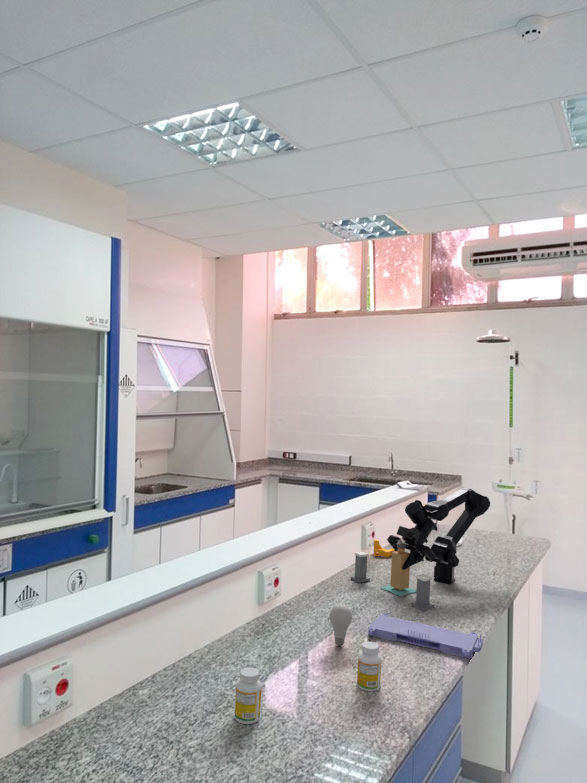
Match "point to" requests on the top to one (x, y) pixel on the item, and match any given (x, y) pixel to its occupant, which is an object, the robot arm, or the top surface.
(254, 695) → the supplement bottle
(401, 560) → the bottle
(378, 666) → the supplement bottle
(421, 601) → the post
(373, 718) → the top surface
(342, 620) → the lightbulb
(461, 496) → the robot arm
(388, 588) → the mat
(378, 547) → the pipe clamp
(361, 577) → the post right
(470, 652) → the computer part
